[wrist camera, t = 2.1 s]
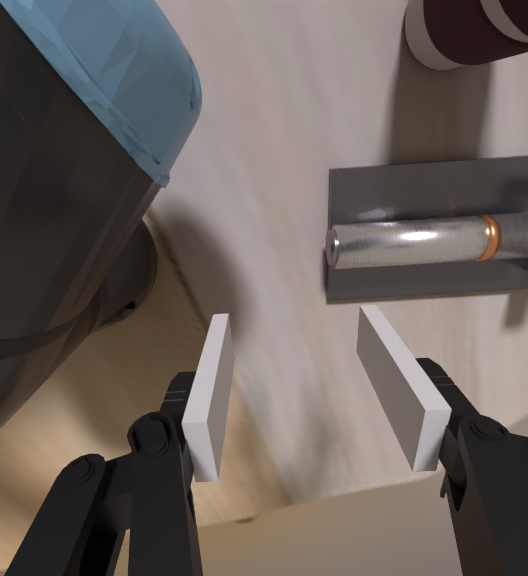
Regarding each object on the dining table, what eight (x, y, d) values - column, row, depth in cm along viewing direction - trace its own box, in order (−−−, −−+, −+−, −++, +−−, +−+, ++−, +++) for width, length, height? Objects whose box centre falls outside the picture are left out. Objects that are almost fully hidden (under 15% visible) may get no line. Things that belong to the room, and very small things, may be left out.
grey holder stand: (326, 295, 33) (343, 334, 26) (329, 168, 28) (352, 175, 21) (624, 278, 33) (723, 313, 26) (687, 144, 27) (833, 143, 20)
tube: (324, 261, 30) (333, 277, 27) (325, 220, 29) (334, 231, 25) (512, 249, 30) (547, 264, 26) (524, 207, 28) (563, 216, 25)
